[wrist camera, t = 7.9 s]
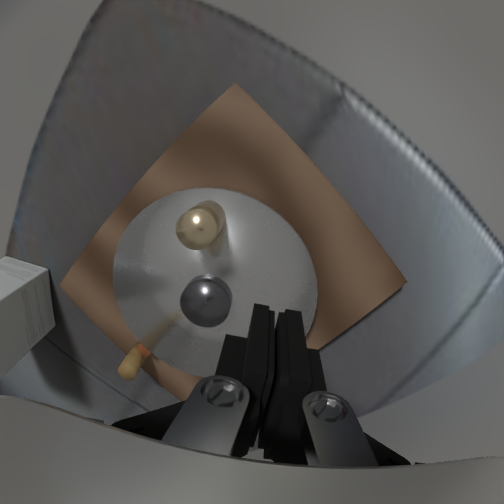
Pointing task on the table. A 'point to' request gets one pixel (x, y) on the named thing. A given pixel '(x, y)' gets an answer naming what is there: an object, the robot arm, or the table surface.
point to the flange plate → (208, 273)
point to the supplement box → (22, 309)
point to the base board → (266, 189)
